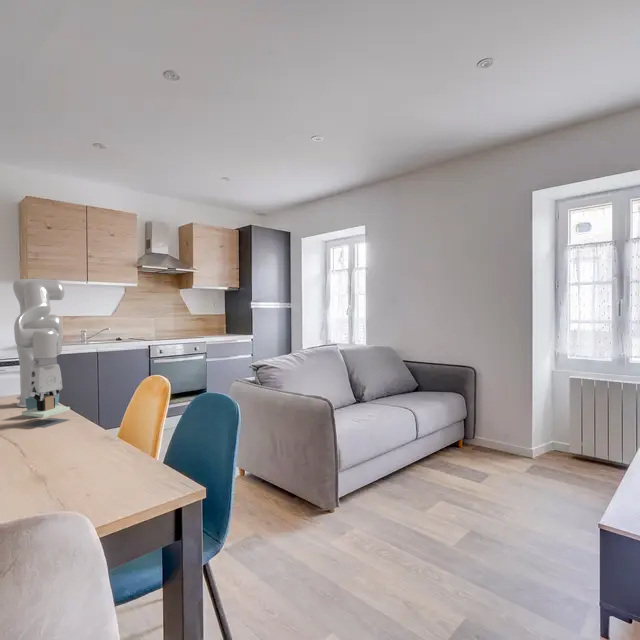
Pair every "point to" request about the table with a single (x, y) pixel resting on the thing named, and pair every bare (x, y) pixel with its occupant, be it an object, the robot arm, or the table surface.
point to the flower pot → (32, 403)
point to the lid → (46, 408)
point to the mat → (46, 422)
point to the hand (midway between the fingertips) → (46, 408)
